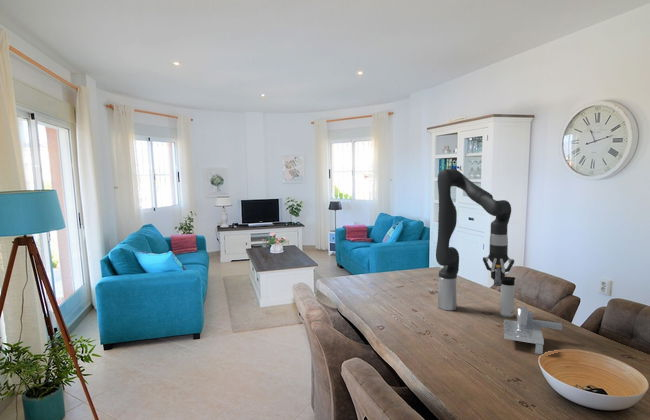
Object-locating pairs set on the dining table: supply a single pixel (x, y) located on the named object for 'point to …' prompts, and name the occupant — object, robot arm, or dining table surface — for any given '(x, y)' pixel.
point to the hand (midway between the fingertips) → (497, 279)
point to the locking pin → (497, 275)
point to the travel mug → (507, 297)
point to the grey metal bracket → (528, 329)
